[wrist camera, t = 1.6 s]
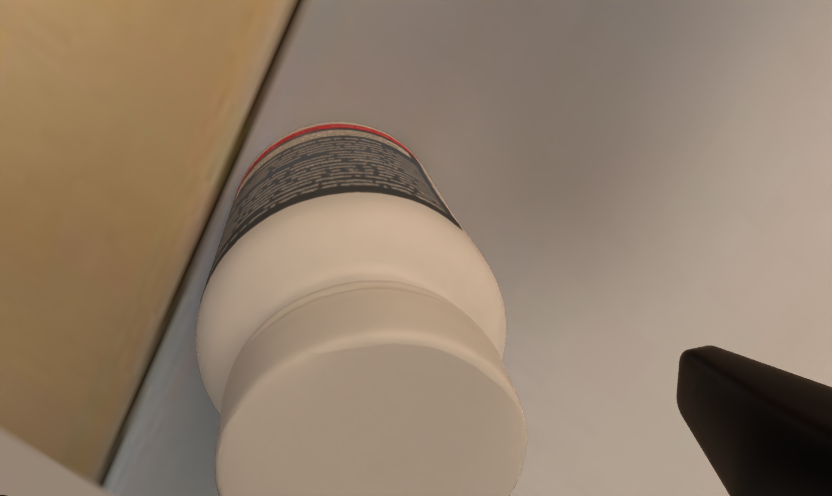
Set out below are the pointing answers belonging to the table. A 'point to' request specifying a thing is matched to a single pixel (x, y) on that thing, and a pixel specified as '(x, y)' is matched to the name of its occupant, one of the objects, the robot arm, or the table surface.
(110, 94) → the table surface
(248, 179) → the pill bottle
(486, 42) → the table surface
